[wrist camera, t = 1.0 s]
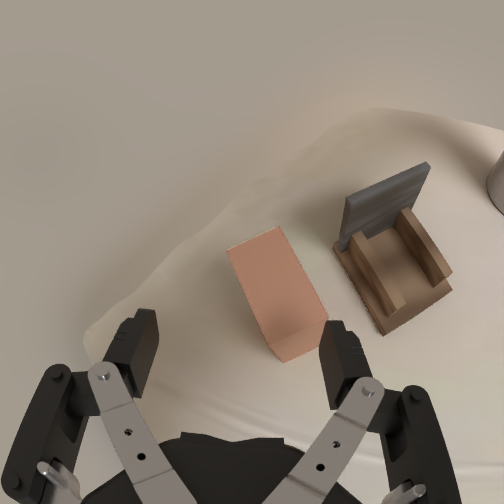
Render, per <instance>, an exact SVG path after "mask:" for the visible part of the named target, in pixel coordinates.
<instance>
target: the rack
mask: <svg viewBox="0 0 504 504" xmlns="http://www.w3.org/2000/svg"><path fill="white" fill-rule="evenodd" d="M430 168H431V167H430V165H429V164H428V163H427V162H424V163H421V164H419V165H417V166H415V167H412V168H410V169H408V170H406V171H403V172H401V173H399V174H397V175H394V176H392V177H390V178H388V179H386V180H383V181H381V182H379V183H377V184H374V185H372V186H370V187H368V188H365V189H363V190H361V191H359V192H357V193H354V194H352V195H350V196H348V197H346V202H345V208H344V213H343V219H342V224H341V230H340V235H339V240H338V241H337V242H335V243H334V245H333V249H334V251H335V253H336V254H337V256H338V258H339V259H340V261H341V263H342V264H343V266H344V268H345V269H346V271H347V273H348V274H349V276H350V278H351V280H352V281H353V283H354V285H355V287H356V288H357V290H358V292H359V293H360V295H361V297H362V299H363V301H364V302H365V304H366V306H367V308H368V309H369V311H370V313H371V315H372V317H373V319H374V320H375V322H376V324H377V326H378V328H379V330H380V331H381V333H382V335H383V336H385V335H386V334H388V333H390V332H391V331H393V330H394V329H396V328H398V327H399V326H401V325H402V324H404V323H406V322H407V321H409V320H410V319H412V318H413V317H415V316H416V315H418V314H419V313H421V312H422V311H424V310H425V309H427V308H428V307H430V306H431V305H433V304H434V303H435V302H437V301H438V300H440V299H441V298H442V297H444V296H445V295H447V294H448V293H449V292H451V291H452V288H451V286H450V285H449V283H448V281H447V280H446V278H447V277H448V276H449V275H450V274H451V273H453V272H452V270H451V268H450V267H449V265H448V264H447V262H446V260H445V259H444V257H443V256H442V254H441V253H440V251H439V250H438V248H437V247H436V245H435V244H434V242H433V241H432V239H431V238H430V236H429V235H428V233H427V232H426V230H425V229H424V228H423V226H422V225H421V223H420V222H419V221H418V219H417V218H416V216H415V215H414V214H413V212H412V211H411V209H412V207H413V205H414V203H415V201H416V199H417V197H418V195H419V193H420V190H421V188H422V186H423V184H424V182H425V180H426V177H427V175H428V173H429V171H430Z"/></svg>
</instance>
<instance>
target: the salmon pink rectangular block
mask: <svg viewBox="0 0 504 504" xmlns="http://www.w3.org/2000/svg"><path fill="white" fill-rule="evenodd" d="M226 253H227V255H228V257H229V259H230V262H231V264H232V266H233V268H234V271H235V273H236V275H237V278H238V280H239V282H240V284H241V287H242V289H243V291H244V293H245V296H246V298H247V300H248V302H249V304H250V307H251V309H252V311H253V313H254V316H255V318H256V320H257V322H258V324H259V327H260V329H261V331H262V333H263V335H264V337H265V340H266V342H267V344H268V346H269V347H270V348H271V349H272V350H273V352H274V353H275V354H276V355H277V356H278V357H279V358H280V359H281V360H282V361H283V363H285V362H287V361H289V360H292V359H294V358H296V357H298V356H300V355H302V354H304V353H306V352H308V351H310V350H312V349H314V348H316V347H318V345H319V342H320V339H321V337H322V333H323V329H324V326H325V322H326V321H327V320H328V317H329V316H328V314H327V312H326V310H325V308H324V307H323V305H322V303H321V301H320V299H319V297H318V295H317V293H316V292H315V290H314V288H313V286H312V284H311V282H310V281H309V279H308V277H307V275H306V273H305V271H304V270H303V268H302V266H301V264H300V262H299V260H298V259H297V257H296V255H295V253H294V251H293V250H292V248H291V246H290V244H289V242H288V241H287V239H286V237H285V235H284V234H283V232H282V230H281V228H280V226H278V227H277V226H276V227H274V228H272V229H269V230H267V231H265V232H263V233H261V234H259V235H256V236H254V237H252V238H250V239H248V240H246V241H243V242H241V243H239V244H237V245H235V246H233V247H231V248H228V249H227V251H226Z"/></svg>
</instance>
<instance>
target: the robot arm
mask: <svg viewBox="0 0 504 504" xmlns="http://www.w3.org/2000/svg"><path fill="white" fill-rule="evenodd" d="M487 190H488V193H489V196H490V198H491V200H492V201H493V203H494V204H495V206H496V207H497V208H498V209H499V210H500V211H501V212H502V213H503V214H504V151H503V153H502V154H501V156H500V158H499V159H498V161H497V163H496V164H495V166H494V168H493V170H492V172H491V173H490V175H489V176H488V178H487ZM158 344H159V331H158V325H157V319H156V313H155V311H154V310H150V309H141V308H139V309H138V310H137V312H136V314H135V316H134V318H127V319H126V320H125V321H124V322H122V323H121V324H120V326H119V328H118V330H117V333H116V334H115V336H114V339H113V340H112V342H111V344H110V346H109V348H108V350H107V352H106V354H105V356H104V359H103V361H102V362H99V363H96V364H94V365H93V366H92V367H91V368H90V370H89V371H85V372H71V371H70V369H69V367H67V366H66V365H64V364H55V365H52V366H51V367H49V368H48V369H47V370H46V371H45V373H44V375H43V377H42V379H41V381H40V383H39V385H38V387H37V389H36V392H35V394H34V396H33V398H32V400H31V402H30V404H29V407H28V409H27V411H26V413H25V416H24V418H23V420H22V423H21V425H20V427H19V430H18V432H17V435H16V437H15V440H14V442H13V445H12V448H11V451H10V453H9V456H8V459H7V461H6V464H5V467H4V470H3V474H2V477H1V484H2V488H3V490H4V492H5V493H6V494H7V495H8V496H9V497H11V498H12V499H14V500H16V501H17V502H19V503H20V504H362V503H361V502H360V501H359V500H357V499H356V498H355V497H354V496H353V495H352V494H350V493H349V492H348V491H347V490H346V489H345V488H344V487H342V486H341V485H340V484H339V483H338V482H337V479H338V478H339V476H340V475H341V473H342V472H343V470H344V469H345V467H346V465H347V464H348V462H349V461H350V459H351V457H352V456H353V454H354V452H355V451H356V449H357V447H358V445H359V444H360V442H361V440H362V438H363V437H364V435H365V433H366V431H368V432H374V433H379V434H380V439H381V444H382V449H383V454H384V459H385V464H386V470H387V476H388V482H389V488H390V493H388V494H387V495H386V496H385V497H384V499H383V501H382V504H462V502H461V498H460V494H459V490H458V486H457V482H456V478H455V474H454V471H453V467H452V463H451V460H450V457H449V453H448V450H447V447H446V444H445V441H444V437H443V434H442V431H441V428H440V425H439V422H438V420H437V417H436V414H435V411H434V408H433V406H432V403H431V400H430V398H429V395H428V393H427V392H426V391H425V390H424V389H423V388H422V387H420V386H417V385H410V386H407V387H405V388H404V390H403V391H402V392H400V391H394V390H388V389H385V388H384V387H383V385H382V384H381V383H380V382H379V381H378V380H377V379H375V378H373V376H372V373H371V370H370V368H369V365H368V362H367V359H366V357H365V354H364V351H363V348H362V346H361V343H360V340H359V338H358V337H357V336H356V335H355V334H354V333H353V332H352V331H346V329H345V326H344V323H343V321H337V320H327V321H326V322H325V326H324V329H323V333H322V337H321V340H320V344H319V358H320V362H321V367H322V372H323V376H324V381H325V386H326V391H327V396H328V401H329V406H330V410H337V409H338V410H337V412H336V413H334V414H333V416H332V417H331V419H330V420H329V421H328V423H327V424H326V426H325V427H324V429H323V430H322V431H321V433H320V434H319V436H318V437H317V438H316V440H315V441H314V442H313V444H312V445H311V446H310V448H309V449H308V450H307V452H306V453H305V452H303V451H301V450H300V449H297V448H295V447H293V446H289V445H285V444H284V438H254V439H249V440H243V441H237V442H229V441H226V440H222V439H219V438H215V437H212V436H209V435H205V434H196V433H187V432H181V436H180V438H176V439H171V440H168V441H165V442H162V443H160V444H157V442H156V440H155V439H154V437H153V435H152V434H151V432H150V430H149V428H148V427H147V425H146V423H145V421H144V419H143V417H142V416H141V414H140V412H139V410H138V408H137V406H136V404H135V402H134V401H133V397H136V398H141V397H142V394H143V391H144V387H145V384H146V381H147V378H148V375H149V372H150V369H151V366H152V363H153V360H154V357H155V354H156V351H157V348H158ZM89 416H101V418H102V420H103V423H104V425H105V428H106V430H107V432H108V435H109V437H110V439H111V441H112V443H113V446H114V448H115V450H116V452H117V454H118V456H119V458H120V460H121V462H122V464H123V466H124V468H125V469H124V470H123V471H121V472H120V473H119V474H117V475H116V476H114V477H113V478H112V479H110V480H109V481H107V482H106V483H104V484H103V485H101V486H100V487H98V488H97V489H95V490H94V491H93V492H91V493H89V494H88V495H87V496H86V497H85V498H84V499H83V500H82V498H81V496H80V484H79V481H78V479H77V478H76V477H75V476H74V475H73V471H74V467H75V463H76V460H77V456H78V452H79V449H80V445H81V442H82V438H83V435H84V432H85V428H86V425H87V422H88V419H89Z"/></svg>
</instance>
